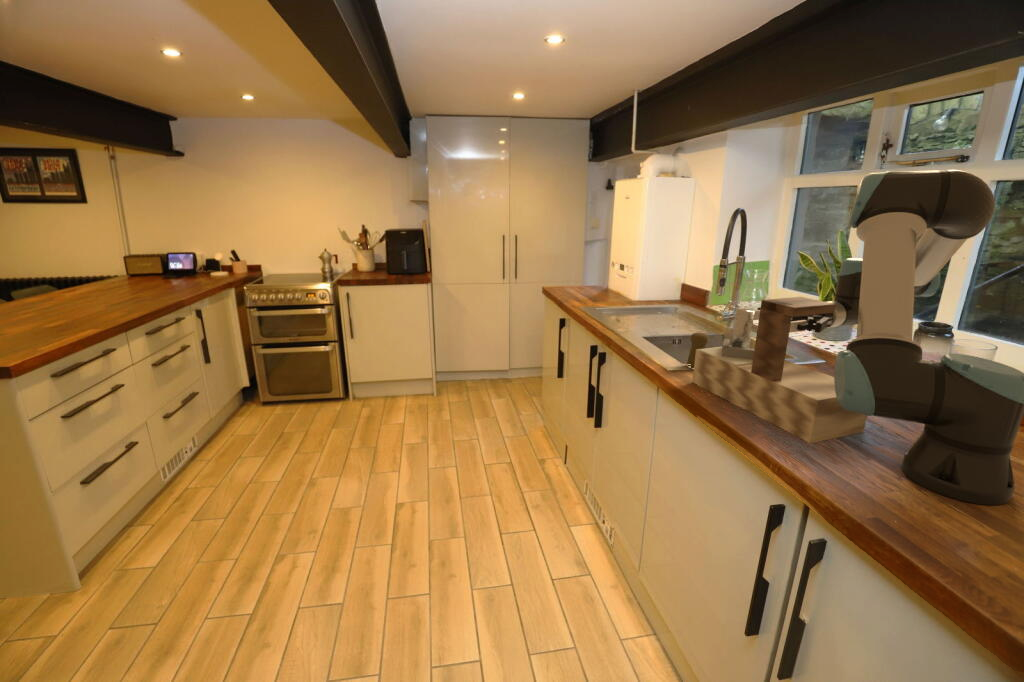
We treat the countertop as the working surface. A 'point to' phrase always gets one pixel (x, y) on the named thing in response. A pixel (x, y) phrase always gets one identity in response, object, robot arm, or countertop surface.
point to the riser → (782, 397)
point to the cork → (696, 346)
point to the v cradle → (731, 354)
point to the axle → (742, 328)
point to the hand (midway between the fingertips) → (764, 321)
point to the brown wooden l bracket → (780, 332)
